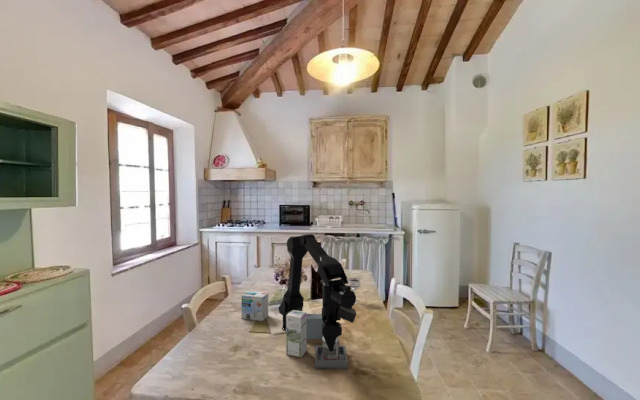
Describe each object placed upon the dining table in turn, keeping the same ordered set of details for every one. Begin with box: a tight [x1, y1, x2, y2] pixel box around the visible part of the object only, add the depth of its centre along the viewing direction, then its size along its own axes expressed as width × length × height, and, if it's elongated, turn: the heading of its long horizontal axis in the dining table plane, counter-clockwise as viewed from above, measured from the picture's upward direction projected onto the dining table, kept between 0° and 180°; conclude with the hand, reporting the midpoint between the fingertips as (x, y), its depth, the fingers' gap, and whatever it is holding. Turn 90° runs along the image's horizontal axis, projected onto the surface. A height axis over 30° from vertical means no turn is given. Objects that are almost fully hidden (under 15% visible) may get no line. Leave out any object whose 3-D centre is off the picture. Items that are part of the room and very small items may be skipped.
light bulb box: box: [240, 290, 269, 322], centre depth 150 cm, size 11×7×11 cm, turn 74°
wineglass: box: [347, 277, 362, 305], centre depth 170 cm, size 7×7×12 cm
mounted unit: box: [306, 313, 323, 344], centre depth 129 cm, size 11×7×9 cm, turn 90°
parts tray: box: [314, 345, 349, 370], centre depth 113 cm, size 11×11×2 cm
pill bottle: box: [321, 336, 340, 360], centre depth 113 cm, size 6×6×10 cm
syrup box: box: [285, 310, 308, 358], centre depth 117 cm, size 6×6×14 cm
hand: (330, 344), depth 113 cm, fingers open, 9 cm apart
